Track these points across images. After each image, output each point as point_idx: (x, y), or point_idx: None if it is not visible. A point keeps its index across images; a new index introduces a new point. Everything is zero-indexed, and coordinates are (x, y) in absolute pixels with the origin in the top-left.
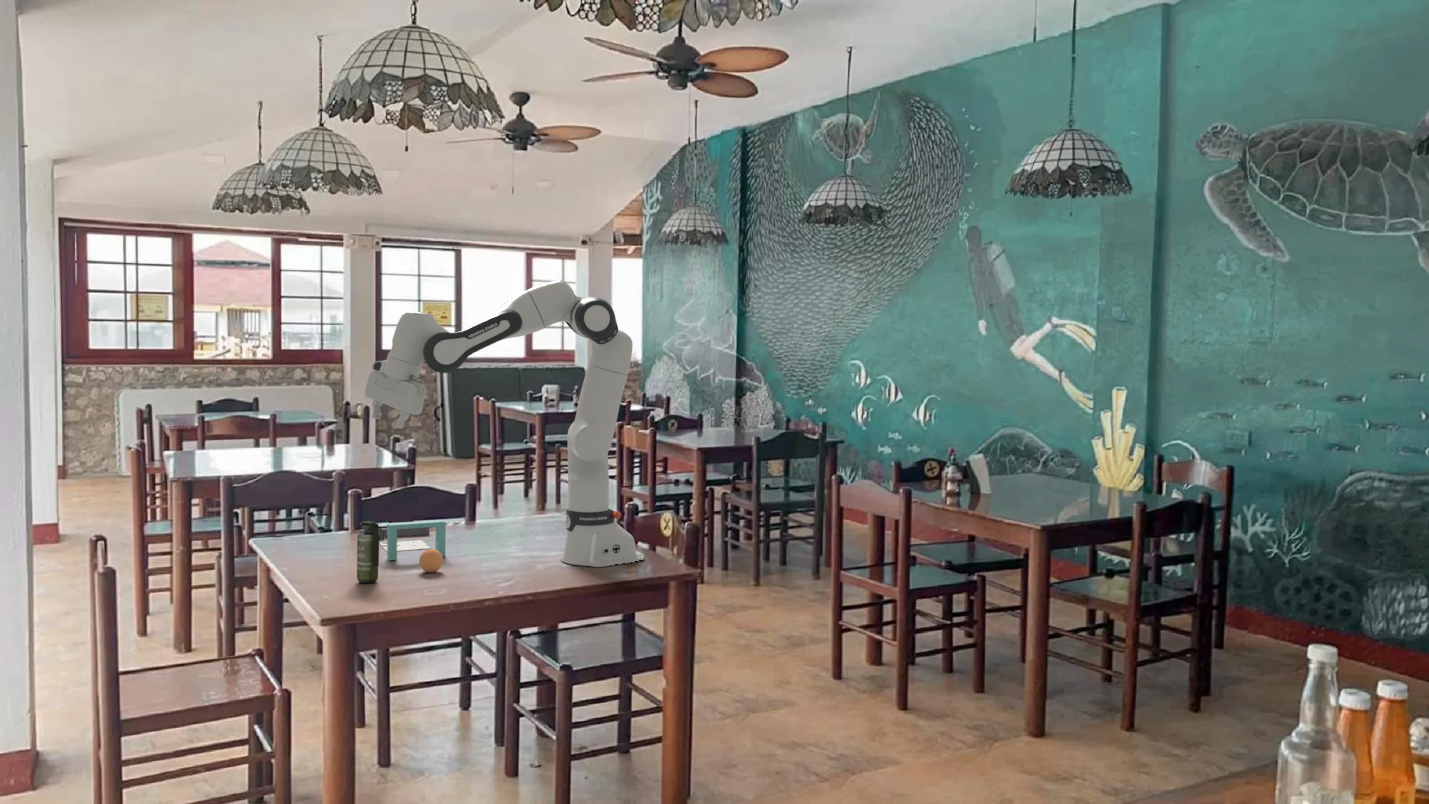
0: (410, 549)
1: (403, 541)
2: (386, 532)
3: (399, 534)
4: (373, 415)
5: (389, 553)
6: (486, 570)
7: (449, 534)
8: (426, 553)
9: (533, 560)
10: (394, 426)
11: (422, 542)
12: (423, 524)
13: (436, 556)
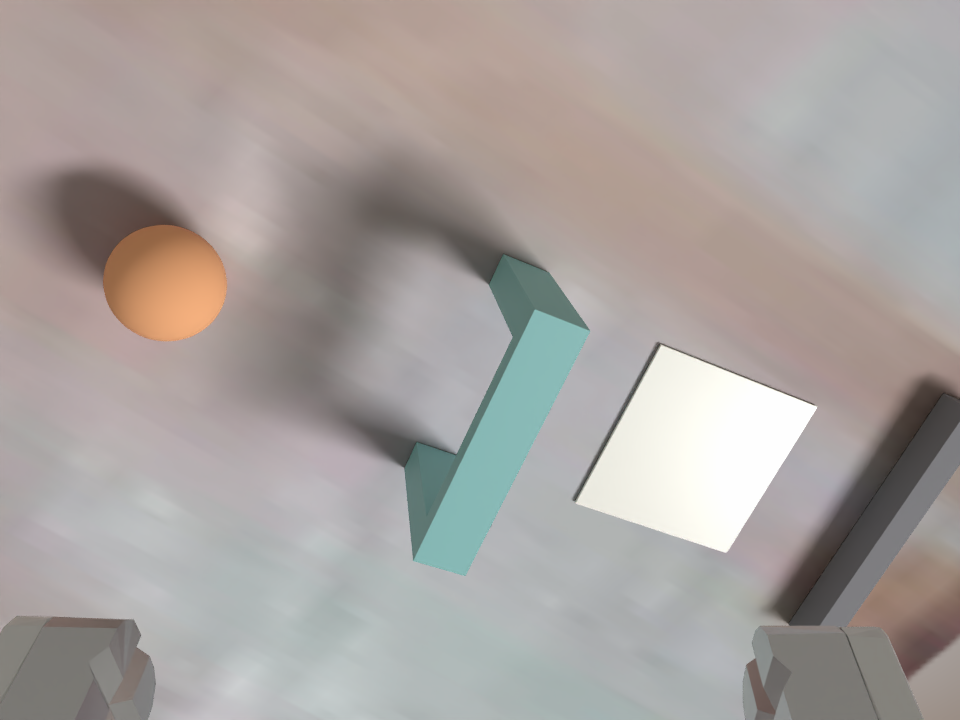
0: (615, 432)
1: (761, 490)
2: (894, 495)
3: (857, 533)
4: (849, 659)
5: (508, 264)
6: (52, 452)
7: (730, 675)
8: (138, 260)
9: None
10: (120, 619)
11: (686, 532)
12: (457, 463)
13: (106, 289)
